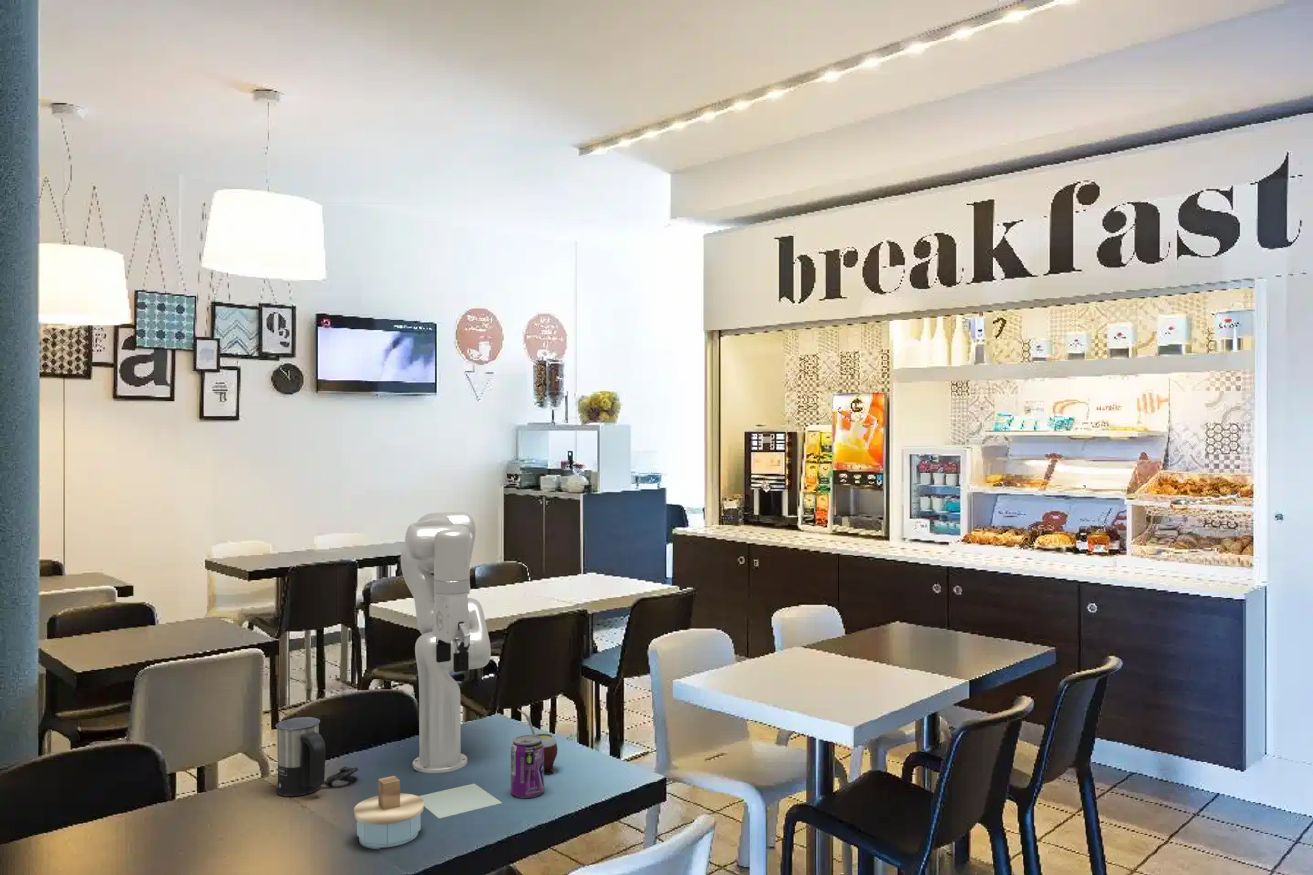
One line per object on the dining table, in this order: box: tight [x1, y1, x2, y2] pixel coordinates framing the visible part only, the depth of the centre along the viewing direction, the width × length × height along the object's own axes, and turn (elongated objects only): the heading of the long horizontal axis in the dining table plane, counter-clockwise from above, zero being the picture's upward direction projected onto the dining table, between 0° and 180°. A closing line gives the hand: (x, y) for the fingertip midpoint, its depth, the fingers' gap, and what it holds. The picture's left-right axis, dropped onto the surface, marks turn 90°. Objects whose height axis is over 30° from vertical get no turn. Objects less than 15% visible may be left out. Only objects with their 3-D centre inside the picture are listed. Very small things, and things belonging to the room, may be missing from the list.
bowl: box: [356, 812, 422, 850], centre depth 182 cm, size 11×11×5 cm
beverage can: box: [510, 734, 545, 799], centre depth 204 cm, size 7×7×12 cm
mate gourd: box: [516, 708, 558, 775], centre depth 218 cm, size 8×8×15 cm
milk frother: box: [275, 716, 359, 797], centre depth 210 cm, size 14×16×15 cm
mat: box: [417, 783, 503, 820], centre depth 200 cm, size 14×14×1 cm
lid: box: [353, 775, 425, 825], centre depth 182 cm, size 13×13×6 cm
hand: (452, 666), depth 203 cm, fingers open, 9 cm apart
